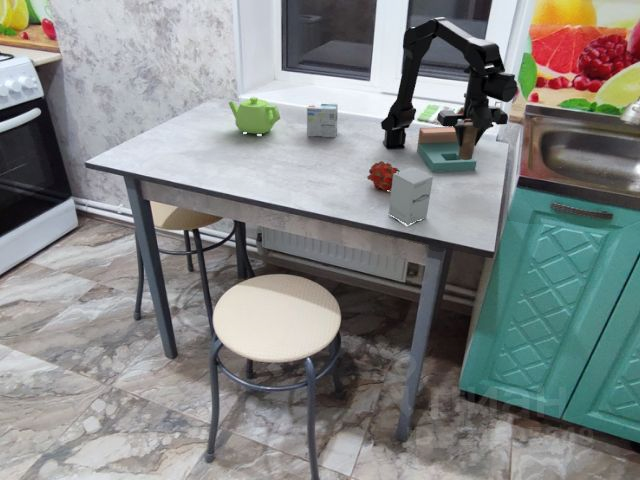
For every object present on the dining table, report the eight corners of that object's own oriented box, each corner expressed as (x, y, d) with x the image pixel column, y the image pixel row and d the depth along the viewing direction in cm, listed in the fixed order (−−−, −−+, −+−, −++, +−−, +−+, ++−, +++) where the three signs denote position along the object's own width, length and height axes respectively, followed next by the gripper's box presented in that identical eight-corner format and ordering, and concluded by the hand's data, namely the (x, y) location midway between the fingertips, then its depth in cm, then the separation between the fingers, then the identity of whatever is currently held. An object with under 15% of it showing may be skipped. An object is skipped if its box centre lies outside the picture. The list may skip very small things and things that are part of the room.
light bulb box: (337, 131, 178) (338, 102, 172) (335, 138, 172) (336, 108, 166) (309, 130, 179) (308, 101, 173) (306, 136, 173) (306, 107, 167)
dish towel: (475, 132, 179) (477, 123, 177) (416, 122, 187) (417, 113, 185) (483, 118, 192) (485, 109, 190) (427, 109, 200) (429, 101, 198)
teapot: (223, 134, 175) (219, 100, 168) (240, 122, 185) (237, 89, 178) (272, 141, 169) (270, 107, 162) (287, 129, 179) (286, 95, 172)
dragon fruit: (367, 185, 145) (400, 202, 140) (357, 179, 138) (391, 197, 132) (380, 160, 144) (414, 176, 139) (371, 152, 136) (406, 169, 131)
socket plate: (432, 171, 149) (435, 148, 145) (416, 150, 163) (419, 127, 159) (474, 170, 151) (479, 146, 146) (456, 148, 165) (460, 126, 160)
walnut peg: (460, 160, 139) (466, 127, 133) (456, 154, 142) (461, 122, 137) (474, 159, 139) (480, 126, 134) (468, 154, 143) (475, 121, 137)
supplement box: (407, 228, 122) (413, 184, 115) (387, 215, 127) (392, 173, 120) (427, 219, 126) (434, 176, 119) (407, 207, 131) (412, 165, 124)
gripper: (454, 102, 123) (445, 158, 131) (523, 100, 124) (509, 155, 133) (440, 90, 132) (432, 143, 140) (504, 88, 134) (493, 140, 142)
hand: (467, 145), depth 139 cm, fingers closed on walnut peg, 4 cm apart
